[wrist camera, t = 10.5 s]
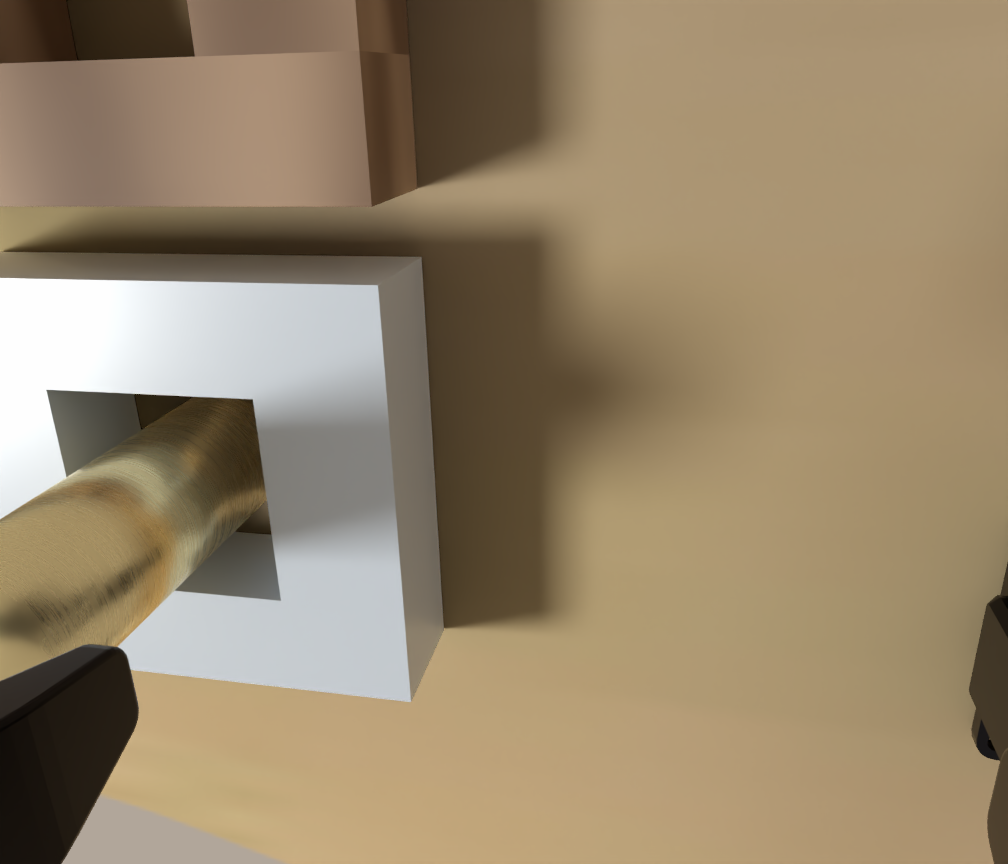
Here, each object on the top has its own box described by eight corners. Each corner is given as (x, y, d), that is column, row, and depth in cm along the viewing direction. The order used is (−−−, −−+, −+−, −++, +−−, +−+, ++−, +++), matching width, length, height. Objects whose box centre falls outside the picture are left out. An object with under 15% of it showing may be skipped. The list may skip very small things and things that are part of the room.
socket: (421, 256, 20) (377, 285, 17) (443, 629, 23) (411, 702, 21) (-1, 251, 22) (-99, 276, 19) (81, 594, 26) (8, 655, 23)
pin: (282, 391, 22) (33, 578, 14) (296, 506, 23) (75, 742, 15) (166, 386, 22) (-139, 562, 14) (186, 498, 24) (-85, 721, 15)
